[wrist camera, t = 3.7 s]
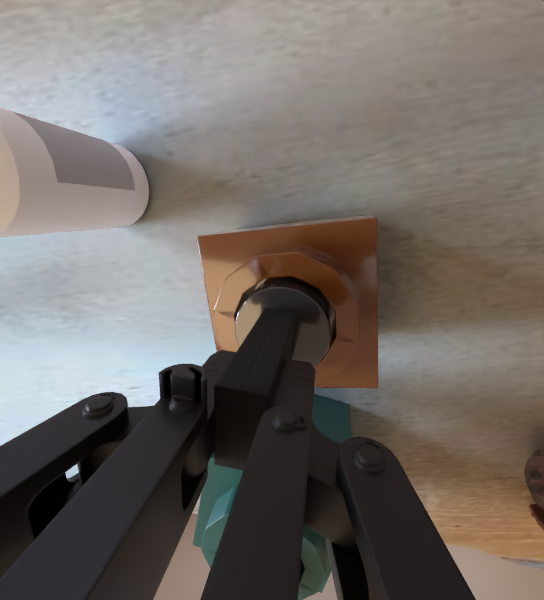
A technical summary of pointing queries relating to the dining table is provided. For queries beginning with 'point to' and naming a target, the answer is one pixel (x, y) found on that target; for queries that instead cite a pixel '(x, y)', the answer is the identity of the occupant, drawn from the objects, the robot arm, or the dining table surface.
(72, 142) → the white bottle
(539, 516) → the brown jagged looped figure
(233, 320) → the brown push button box
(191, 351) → the dining table surface
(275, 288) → the dark gray button
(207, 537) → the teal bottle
